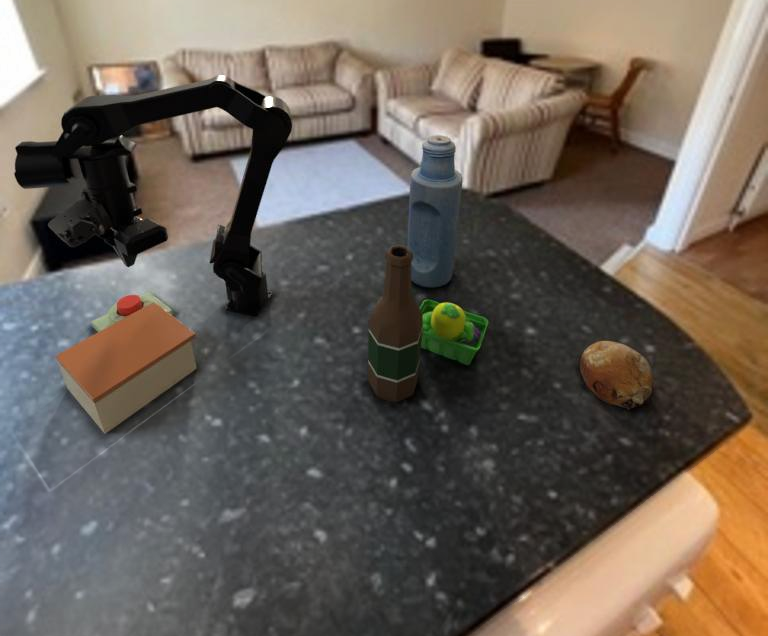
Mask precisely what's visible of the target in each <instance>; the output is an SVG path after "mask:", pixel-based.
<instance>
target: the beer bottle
mask: <svg viewBox="0 0 768 636" xmlns="http://www.w3.org/2000/svg"><path fill="white" fill-rule="evenodd" d="M413 258H414V257H413V253H412V251H411V250H410V249H409V248H408V247H407V246H404V245H398V244H397V245H393V246H390V247H389V248H388V250H387V251H386V254H385V257H384V259H385V260H386V267H385V277H384V279H385V280H384V286H383V293H382V295H381V296H380V297H379V298H378V300H377V303H376V304H375V306H374V308H373V310H372V312H371V315H370V317H369V321H368V337H367V339H368V340H367V341H368V343H367V344H368V346H367V378H368V379H367V380H368V383H369V385H370V387H371V388H372V390H373V393H374V394H375V395H376V397H377V398H378V399H381V400H385V401H389V402H391V403H398V402H401V401H403V400H405V399H407V398H410V397H413V395H414V393H415V390H416V386H417V383H418V380H419V375H420V366H421V355H422V353H421V352H422V348H421V342H422V330H423V316H422V313H421V311H420V306H419V305H418V304H417V303H416V302H415V300H414V298H413V292H412V281H411V262H412V260H413Z"/></svg>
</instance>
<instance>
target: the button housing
mask: <svg viewBox="0 0 768 636" xmlns="http://www.w3.org/2000/svg"><path fill="white" fill-rule="evenodd" d="M137 295H138V296H139V297H140V299H141V303H142V308H144V307H146V306H147V305H149V304H151V303H153V302H155V303H156V304H158V305H159V306H160V307H162V308H163V309H164V310H165V311H167V312H168V313H169V314H170V315H172V316H173V315H174V313H173V310H172V308H171V307H169V306H168V305H166V304H165V303H164V302H163V301H161V300H159V298H158V297H156V296H154V295H153V294H152V293H150V291H147V292H145V293H143V294H142V295H141V294H137ZM117 302H118V301H116V302H115V303H114V304H113V305H111V307H110V308H109V309H108V312H107V313H105V314H103V315H102V316H99V317H98V318H96V319H94V320H92V321H91V325H92V327H93V328H94V330H96V332H97V333H98V332H100V331H102V330H103V329H105V328H107V327H109V326H111V325H113V324H114V323H116V322H118V321H120V320H122V319H124V318H125V317H127V316H121V315H120V314H119V312H118V308H117Z"/></svg>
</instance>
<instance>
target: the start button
mask: <svg viewBox="0 0 768 636" xmlns="http://www.w3.org/2000/svg"><path fill="white" fill-rule="evenodd" d="M138 295H139V294H128V295H125V296H123V297H121V298H120V299H119V300H118V301H116V302H117V308H118V312H119V314H120V315H121V316H129V315H131V314H133V313H135V312H136V311H138V310H140V309H142V303H141V299H140V297H139V296H138Z"/></svg>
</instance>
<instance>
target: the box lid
mask: <svg viewBox="0 0 768 636" xmlns="http://www.w3.org/2000/svg"><path fill="white" fill-rule="evenodd" d="M194 339H196V333H195V332H193V331H192V330H191V329H189V327H187V326H186V325H185V324H183V323H182V322H181V321H179V320H178V319H177V318H176V317H174V316H173V315H170V314H169V313H168V312H167V311H165V310H164V309H163V308H162V307H160V306H159V305H158V304H156V303H155V302H153V303H151V304H149V305H147V306H146V307H144V308H142V309H140V310H138V311H136V312H135V313H133V314H131V315H129V316H127V317H125V318H124V319H122V320H120V321H118V322H116V323H114V324H113V325H111V326H109V327H107V328H105V329H103V330H102V331H100V332H98V331H97V332H96V333H94V334H92V335H91V336H89V337H87V338H85V339H83V340H81V341H79V342H78V343H76V344H74V345H72V346H70V347H68V348H67V349H65V350H63V351H61V352H60V353H58V354H55V356H54V357H55V359H56V362H57V361H58V362H59V363H60V364H61V365H62V367H63V368H64V369H65V370H66V371H67V372H68V374H69V375H70V376H71V377H72V378H73V379H74V381H75V382H76V383H77V384H78V385H79V386H80V388H81V389H82V390H83V391H84V392H85V393H86V395H87V396H88V397H89V398H90V399H91V400H92V402H93V403H96V402H98V401H99V400H101V399H102V398H104V397H105V396H107V395H108V394H110V393H111V392H113V391H115V390H116V389H118V388H119V387H121V386H122V385H124V384H125V383H127V382H128V381H130V380H131V379H133V378H135V377H136V376H138V375H139V374H141V373H142V372H144V371H145V370H147V369H148V368H150V367H151V366H153V365H154V364H156V363H158V362H159V361H161V360H162V359H164V358H165V357H167V356H168V355H170V354H171V353H173V352H174V351H176V350H177V349H179V348H181V347H182V346H184V345H185V344H187V343H188V342H190V341H191V342H192V341H193V340H194ZM58 362H57V363H58Z"/></svg>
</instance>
